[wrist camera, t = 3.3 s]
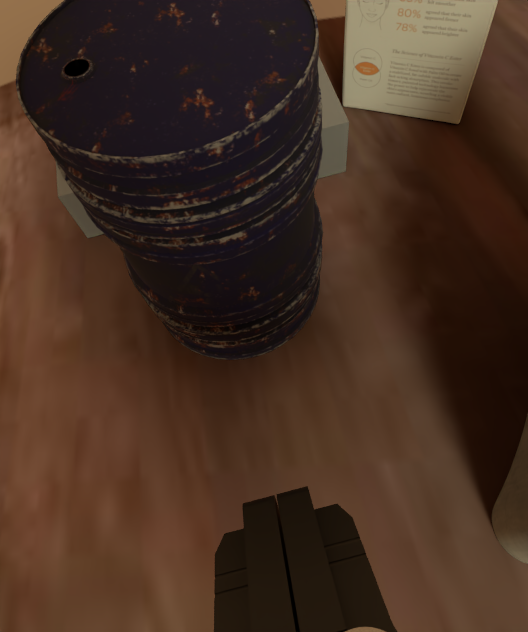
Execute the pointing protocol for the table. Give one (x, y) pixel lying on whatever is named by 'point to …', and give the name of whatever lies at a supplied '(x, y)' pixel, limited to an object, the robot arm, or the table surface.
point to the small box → (413, 55)
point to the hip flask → (514, 505)
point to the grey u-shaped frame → (331, 164)
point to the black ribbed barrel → (192, 154)
